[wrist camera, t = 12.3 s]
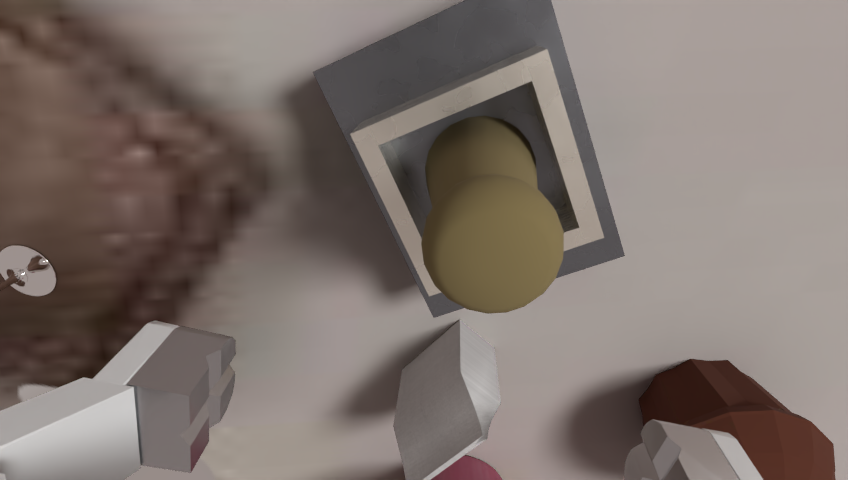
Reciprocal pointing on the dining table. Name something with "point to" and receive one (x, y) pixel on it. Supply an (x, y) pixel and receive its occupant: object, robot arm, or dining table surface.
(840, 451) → the dining table surface
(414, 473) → the white box
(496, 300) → the cork
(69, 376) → the dining table surface
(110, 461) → the robot arm
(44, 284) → the wineglass
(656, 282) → the dining table surface
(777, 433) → the muffin
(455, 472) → the plant pot
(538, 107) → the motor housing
